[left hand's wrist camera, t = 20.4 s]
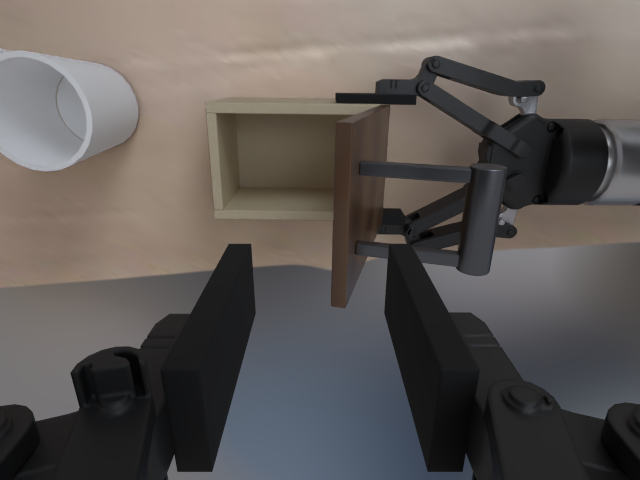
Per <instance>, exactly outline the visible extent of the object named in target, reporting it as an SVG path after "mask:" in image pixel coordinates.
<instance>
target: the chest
mask: <svg viewBox="0 0 640 480" xmlns="http://www.w3.org/2000/svg"><path fill="white" fill-rule="evenodd" d="M335 100H336V99H290V98H225V99H220V100H215V101H210V102H205V108H206V120H207V132H208V144H209V156H210V168H211V180H212V192H213V204H214V218H215V219H259V220H333V207H334V168H335V130H336V122H338V121H341V120H343V119H346V118H348V117H351V116H353V115H356V114H359V113H361V112H364V111H366V110H369V109H372V108H374V107H377V106H379V105H383V104H343V103H336V102H335Z"/></svg>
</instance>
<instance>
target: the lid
mask: <svg viewBox="0 0 640 480" xmlns="http://www.w3.org/2000/svg"><path fill="white" fill-rule="evenodd" d="M389 116H390V105H379V106H377V107H374V108H372V109H369V110H366V111H364V112H361V113H359V114H356V115H353V116H351V117H348V118H346V119H343V120H341V121H338V122H336V130H335V168H334V207H333V246H332V285H331V306H333V307H340V308H345V307H346V305H347V303H348V300H349V298H350V296H351V294H352V291H353V289H354V286H355V284H356V282H357V280H358V277H359V275H360V273H361V270H362V268H363V266H364V263H365V261H366V259H367V256H370V257H378V258H386V259H388V251H389V243H380V242H374V240H375V238H376V235H377V233H378V231H379V228H380V226H381V224H382V215H383V201H384V187H385V177H389V178H403V179H417V180H432V181H446V182H460V183H467V190H466V197H465V204H464V211H463V218H462V225H461V232H460V239H459V246H458V251H453V250H443V249H434V248H425V247H416V246H413V248H414V250H415V252H416V254H417V256H418V257H419V259H420V261H421V263H429V264H437V265H446V266H454V267H456V269H457V270H458V271H460V272H462V273H465V274H468V275H473V276H482V275H486V274H488V273H489V271H490V265H491V260H492V254H493V248H494V243H495V237H496V232H497V226H498V220H499V215H500V209H501V203H502V198H503V192H504V186H505V181H506V175H507V167H505V166H502V165H498V164H489V163H475V164H471V165H470V167H459V166H443V165H427V164H411V163H395V162H386V158H387V144H388V130H389Z"/></svg>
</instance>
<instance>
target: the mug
mask: <svg viewBox="0 0 640 480" xmlns="http://www.w3.org/2000/svg"><path fill="white" fill-rule="evenodd" d="M138 120H139V105H138V101H137V97H136V95H135V93H134V91H133V89H132V87H131V85H130V84H129V83H128V82H127V80H126V79H125V78H124V77H123V76H122V75H121V74H119V73H118V72H117V71H116V70H114V69H113V68H110V67H108V66H106V65H104V64H99V63H93V62H87V61H81V60H75V59H70V58H64V57H58V56H52V55H46V54H40V53H34V52H28V51H21V50H19V51H9V50H5V49H1V48H0V152H1V153H2V154H3V155H4V156H6V157H7V158H9V159H10V160H12V161H13V162H15V163H16V164H19V165H21V166H24V167H27V168H29V169H32V170H39V171H46V172H47V171H55V170H62V169H64V168H66V167H69V166H71V165H73V164H76V163H78V162H80V161H83V160H85V159H87V158H89V157H92V156H94V155H96V154H98V153H101V152H103V151H105V150H107V149H110V148H112V147H114V146H117V145H119V144H121V143H124V142H125V141H126V140H127V139H128V138H130V137H131V136H132V134H133V133H134V131H135V129H136V128H137V124H138Z"/></svg>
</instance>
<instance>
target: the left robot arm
mask: <svg viewBox="0 0 640 480" xmlns="http://www.w3.org/2000/svg"><path fill="white" fill-rule="evenodd" d="M255 313H256V312H255V297H254V281H253V266H252V251H251V244H229V245H228V246H227V248H226V250H225V252H224V254H223V256H222V257H221V259H220V261H219V263H218V265H217V267H216V268H215V270H214V272H213V274H212V276H211V278H210V279H209V281H208V283H207V285H206V287H205V289H204V290H203V292H202V294H201V296H200V298H199V299H198V301H197V303H196V305H195V307H194V309H193V311H192V312H191V314H169V315H168V316H166V317H165V318H163V319H162V320H160V321H159V322H158V323H156V324H155V326H154V327H153V328H152V330H151V332H150V333H149V335H148V336H147V339H145V341H144V342H143V343H142V345H141V348H140V349H137V348H133V347H113V348H109V349H105V350H101V351H99V352H96V353H94V354H92V355H90V356H88V357H86V358H85V359H84V360H82V361H81V362H79V363H78V364H77V365H76V366H75V368H74V369H73V370H72V372H71V377H72V380H73V384H74V388H75V391H76V395H77V399H78V403H79V406H80V408H79V411H77V412H74V413H70V414H67V415H62V416H58V417H53V418H49V419H45V420H40V421H35V418H34V415H33V412H32V411H31V410H30V409H29V408H28V407H26V406H22V405H16V404H14V405H6V406H0V480H168V476H167V472H168V469H169V466H170V464H171V461H172V459H173V456H174V454H175V459H176V466H177V471H178V472H212V470H213V467H214V463H215V460H216V456H217V452H218V448H219V445H220V441H221V438H222V434H223V430H224V426H225V423H226V419H227V416H228V412H229V408H230V405H231V401H232V397H233V394H234V390H235V386H236V383H237V379H238V375H239V372H240V368H241V364H242V361H243V357H244V353H245V350H246V346H247V343H248V339H249V335H250V332H251V328H252V324H253V321H254V317H255ZM384 313H385V317H386V320H387V324H388V328H389V332H390V335H391V339H392V343H393V346H394V350H395V353H396V357H397V361H398V364H399V368H400V372H401V375H402V379H403V383H404V386H405V390H406V394H407V397H408V401H409V405H410V408H411V412H412V416H413V419H414V423H415V427H416V430H417V434H418V438H419V441H420V445H421V449H422V452H423V456H424V460H425V463H426V467H427V470H428V472H462V471H463V466H464V460H465V454H467V456H468V459H469V462H470V464H471V467H472V469H473V476H472V480H640V404H633V403H620V404H615V405H613V406H612V407H611V408H610V409H609V410H608V412H607V415H606V418H605V420H603V419H599V418H595V417H590V416H586V415H581V414H577V413H573V412H569V411H566V410H563V409H561V408H560V406H559V404H558V403H557V401H556V400H555V398H554V397H553V396H551V395H550V394H549V393H548V392H547V391H545V390H544V389H542V388H540V387H538V386H536V385H534V384H532V383H530V382H526V381H524V380H523V379H522V377H521V376H520V374H519V373H518V371H517V370H516V369H515V367H514V366H513V364H512V363H511V361H510V360H509V358H508V357H507V355H506V354H505V352H504V351H503V349H502V348H501V347H500V345H499V343H498V342H497V340H496V339H495V337H493V334H492V333H491V331H490V330H489V328H488V327H487V325H486V324H485V323H484V322H483V321H482V320H480V319H479V318H477V317H476V316H474V315H473V314H472V313H449V312H448V310H447V309H446V307H445V305H444V303H443V301H442V300H441V298H440V296H439V294H438V292H437V290H436V289H435V287H434V285H433V283H432V281H431V279H430V278H429V276H428V274H427V272H426V270H425V268H424V267H423V265H422V263H421V261H420V259H419V257H418V256H417V254H416V252H415V250H414V248H413V246H412V245H411V244H389V251H388V266H387V282H386V297H385V312H384Z"/></svg>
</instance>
